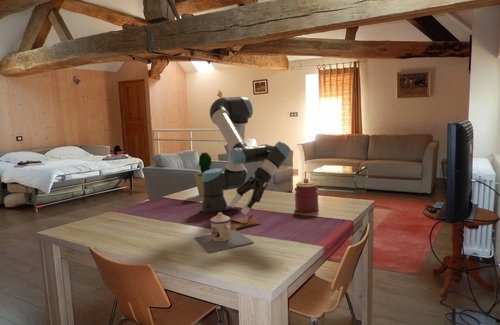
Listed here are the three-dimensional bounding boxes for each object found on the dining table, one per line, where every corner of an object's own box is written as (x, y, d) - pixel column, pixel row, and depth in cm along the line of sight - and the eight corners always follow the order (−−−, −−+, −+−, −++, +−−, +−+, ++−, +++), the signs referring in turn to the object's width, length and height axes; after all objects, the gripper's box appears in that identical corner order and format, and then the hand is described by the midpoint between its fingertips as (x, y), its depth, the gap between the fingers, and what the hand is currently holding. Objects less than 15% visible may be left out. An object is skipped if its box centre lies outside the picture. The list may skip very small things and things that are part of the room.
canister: (311, 205, 216) (311, 175, 213) (323, 210, 204) (322, 178, 201) (291, 208, 212) (290, 177, 209) (301, 214, 200) (300, 181, 197)
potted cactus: (209, 199, 245) (206, 153, 240) (191, 197, 253) (188, 152, 249) (223, 193, 257) (220, 150, 253) (206, 192, 266) (203, 150, 262)
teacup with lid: (207, 238, 167) (205, 213, 165) (225, 233, 172) (223, 209, 171) (221, 245, 157) (219, 218, 156) (239, 240, 162) (237, 214, 161)
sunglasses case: (231, 232, 175) (227, 218, 177) (225, 236, 181) (221, 223, 183) (262, 224, 185) (258, 211, 187) (255, 228, 191) (251, 216, 193)
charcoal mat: (194, 238, 169) (194, 237, 169) (235, 230, 178) (235, 229, 178) (209, 253, 151) (209, 251, 151) (253, 243, 160) (253, 241, 160)
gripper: (284, 181, 159) (254, 221, 155) (258, 173, 182) (232, 208, 178) (273, 170, 156) (242, 211, 152) (248, 163, 179) (220, 198, 175)
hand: (236, 209), depth 165 cm, fingers open, 13 cm apart
